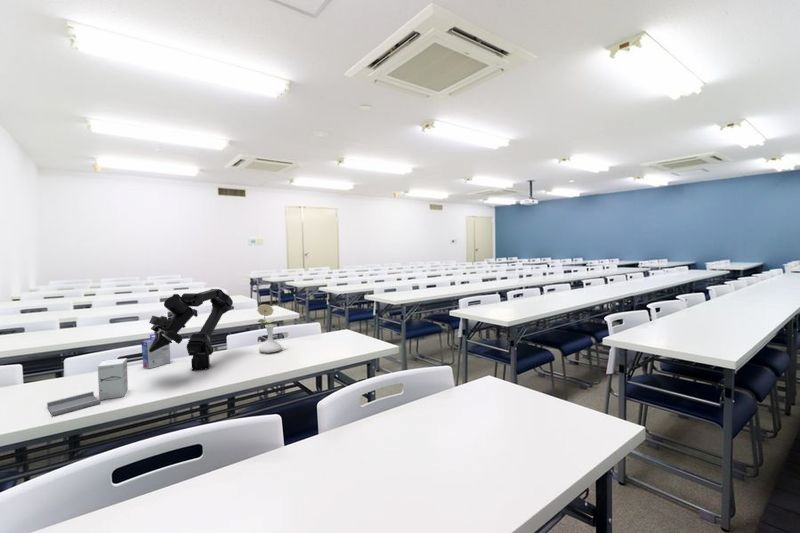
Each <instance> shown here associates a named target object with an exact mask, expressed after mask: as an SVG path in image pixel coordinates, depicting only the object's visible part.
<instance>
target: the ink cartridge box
mask: <svg viewBox="0 0 800 533" xmlns="http://www.w3.org/2000/svg"><path fill="white" fill-rule="evenodd" d="M149 338H150V339H146V340H143V341H141V354H142V356H141V357H142V367H143V368H145V369H148V370H149V369H152V368H156V367H159V366H163V365H167V364H170V363H171V345H170V344H171V343H170V344H168V345H165V346H163V347H161V348H159V349H157V350H155V351H153V352H149V349H150V347H151V345H152V343H153V341H154V339H155V333H152V334H149Z"/></svg>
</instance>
